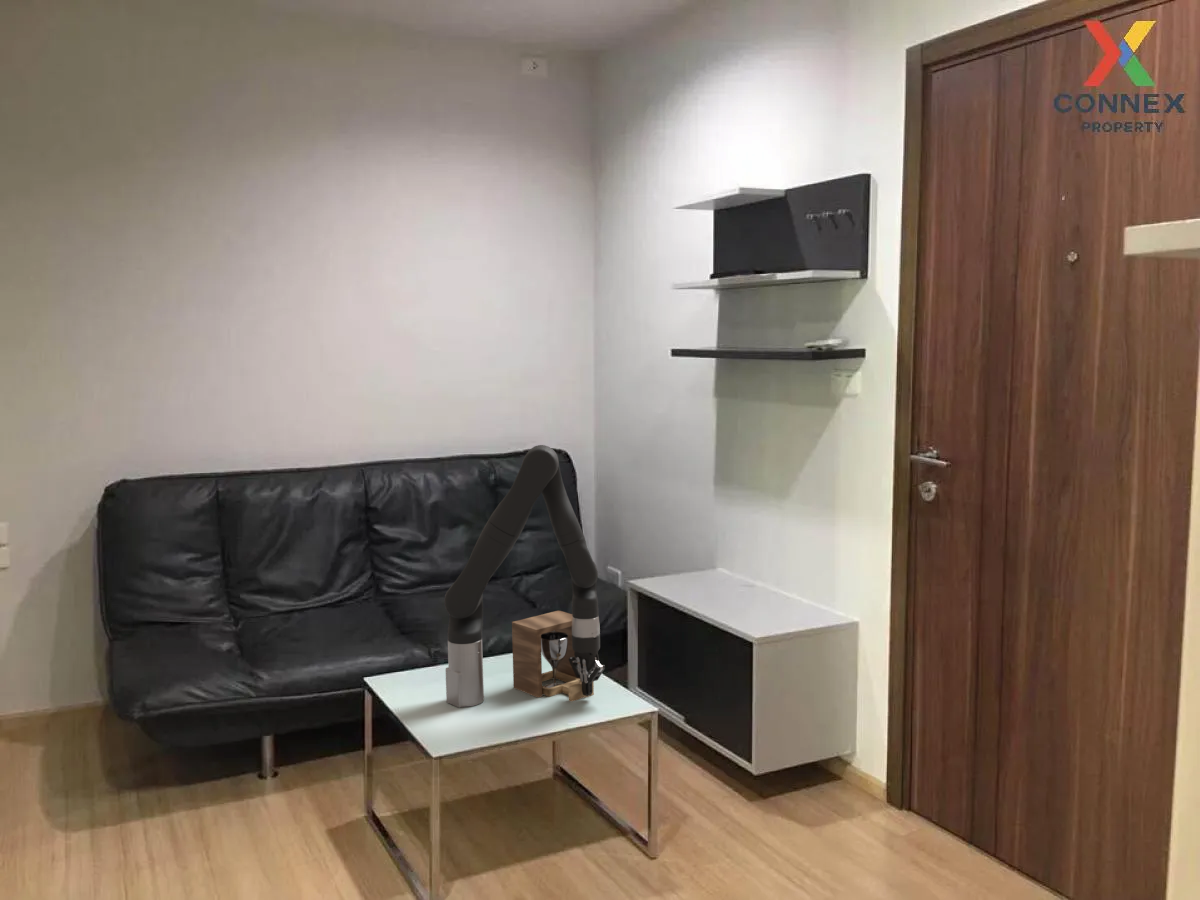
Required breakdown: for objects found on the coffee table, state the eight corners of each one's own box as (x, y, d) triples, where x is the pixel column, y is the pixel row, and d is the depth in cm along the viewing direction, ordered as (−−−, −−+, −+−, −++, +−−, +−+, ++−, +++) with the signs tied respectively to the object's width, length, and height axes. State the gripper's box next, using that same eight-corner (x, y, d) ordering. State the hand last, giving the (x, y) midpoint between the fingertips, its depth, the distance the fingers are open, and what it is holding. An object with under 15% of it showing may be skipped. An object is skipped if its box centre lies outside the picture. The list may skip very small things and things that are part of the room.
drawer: (565, 703, 274) (565, 689, 274) (522, 686, 289) (521, 672, 288) (599, 692, 282) (598, 678, 282) (554, 676, 297) (554, 663, 296)
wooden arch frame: (538, 697, 279) (536, 629, 277) (513, 687, 287) (511, 621, 285) (584, 682, 291) (583, 617, 288) (560, 673, 299) (558, 610, 297)
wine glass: (565, 693, 282) (564, 640, 281) (537, 691, 284) (536, 639, 282) (571, 683, 290) (570, 632, 289) (544, 682, 292) (543, 631, 290)
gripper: (559, 630, 277) (561, 692, 279) (591, 640, 267) (593, 704, 269) (580, 624, 282) (582, 685, 284) (612, 634, 272) (614, 697, 274)
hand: (587, 694), depth 277 cm, fingers closed
